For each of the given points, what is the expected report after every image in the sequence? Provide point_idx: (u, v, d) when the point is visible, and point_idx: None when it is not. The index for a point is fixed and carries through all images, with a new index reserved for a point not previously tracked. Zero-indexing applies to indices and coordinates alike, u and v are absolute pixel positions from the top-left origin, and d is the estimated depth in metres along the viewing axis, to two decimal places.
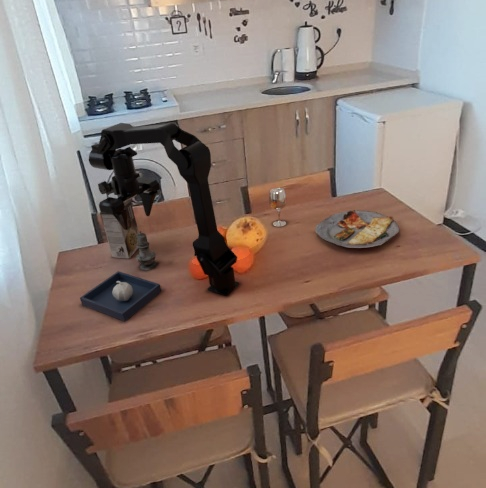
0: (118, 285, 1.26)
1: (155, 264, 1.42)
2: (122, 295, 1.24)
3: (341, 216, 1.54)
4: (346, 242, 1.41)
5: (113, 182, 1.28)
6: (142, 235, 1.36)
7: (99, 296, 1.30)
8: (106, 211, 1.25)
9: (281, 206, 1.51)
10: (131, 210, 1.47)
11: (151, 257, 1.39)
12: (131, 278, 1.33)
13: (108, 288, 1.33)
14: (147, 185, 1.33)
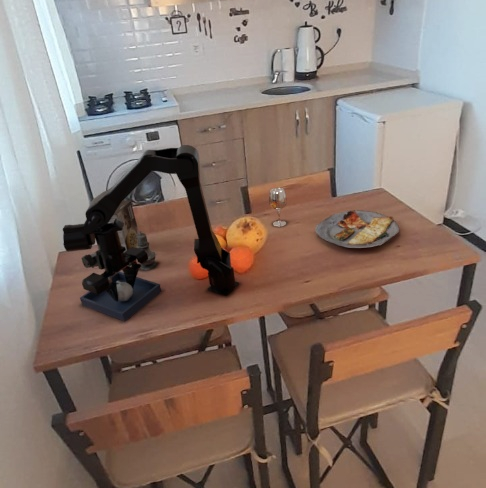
0: (118, 285, 1.26)
1: (155, 264, 1.42)
2: (122, 295, 1.24)
3: (341, 216, 1.54)
4: (346, 242, 1.41)
5: (97, 257, 1.21)
6: (142, 235, 1.36)
7: (99, 296, 1.30)
8: (89, 289, 1.17)
9: (281, 206, 1.51)
10: (131, 210, 1.47)
11: (151, 257, 1.39)
12: None
13: None
14: (134, 256, 1.26)
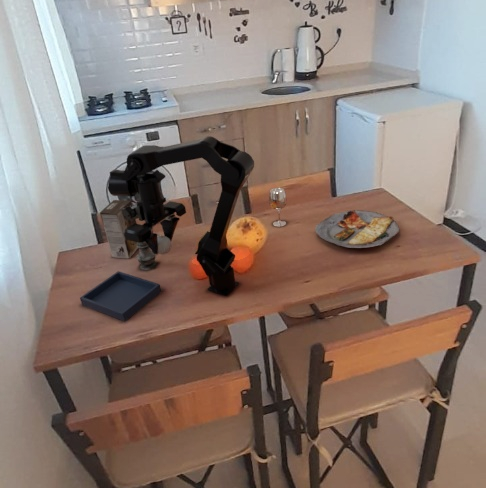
0: None
1: (155, 264, 1.42)
2: (162, 247, 1.25)
3: (341, 216, 1.54)
4: (346, 242, 1.41)
5: (138, 208, 1.21)
6: None
7: (99, 296, 1.30)
8: (132, 239, 1.18)
9: (281, 206, 1.51)
10: None
11: (151, 257, 1.39)
12: (131, 278, 1.33)
13: (108, 288, 1.33)
14: (173, 209, 1.26)
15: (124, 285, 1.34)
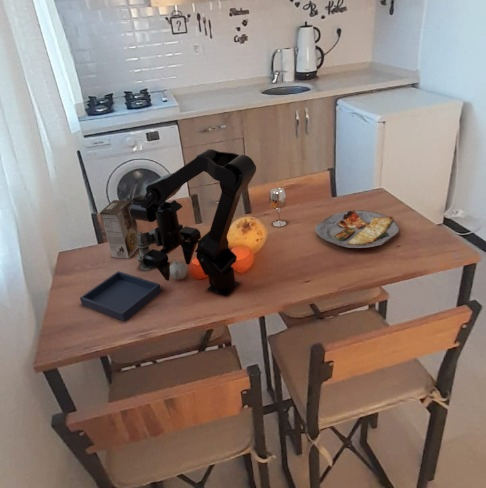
0: (174, 264, 1.33)
1: None
2: (179, 273, 1.31)
3: (341, 216, 1.54)
4: (346, 242, 1.41)
5: (156, 234, 1.27)
6: None
7: (99, 296, 1.30)
8: (150, 264, 1.24)
9: (281, 206, 1.51)
10: None
11: None
12: (131, 278, 1.33)
13: (108, 288, 1.33)
14: (189, 235, 1.32)
15: (124, 285, 1.34)
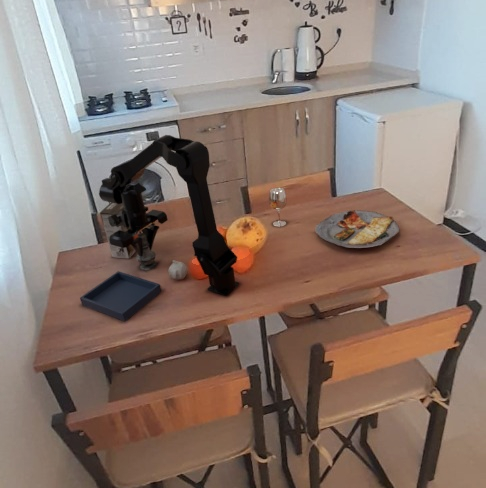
0: (174, 264, 1.33)
1: (155, 264, 1.42)
2: (179, 273, 1.31)
3: (341, 216, 1.54)
4: (346, 242, 1.41)
5: (122, 216, 1.33)
6: (142, 235, 1.36)
7: (99, 296, 1.30)
8: (116, 244, 1.30)
9: (281, 206, 1.51)
10: None
11: (151, 257, 1.39)
12: (131, 278, 1.33)
13: (108, 288, 1.33)
14: (155, 217, 1.38)
15: (124, 285, 1.34)
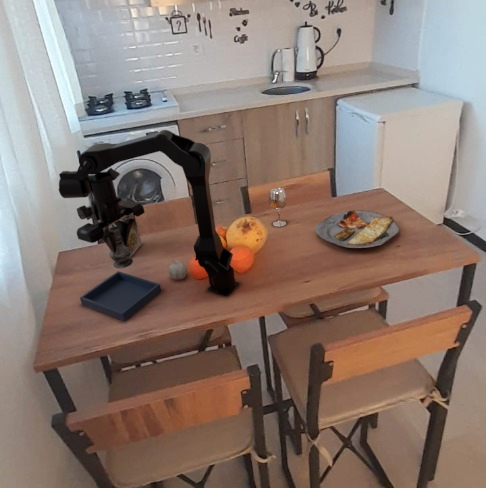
0: (174, 264, 1.33)
1: (131, 261, 1.28)
2: (179, 273, 1.31)
3: (341, 216, 1.54)
4: (346, 242, 1.41)
5: (92, 207, 1.19)
6: (115, 229, 1.22)
7: (99, 296, 1.30)
8: (84, 239, 1.16)
9: (281, 206, 1.51)
10: None
11: (125, 253, 1.25)
12: (131, 278, 1.33)
13: (108, 288, 1.33)
14: (130, 209, 1.24)
15: (124, 285, 1.34)
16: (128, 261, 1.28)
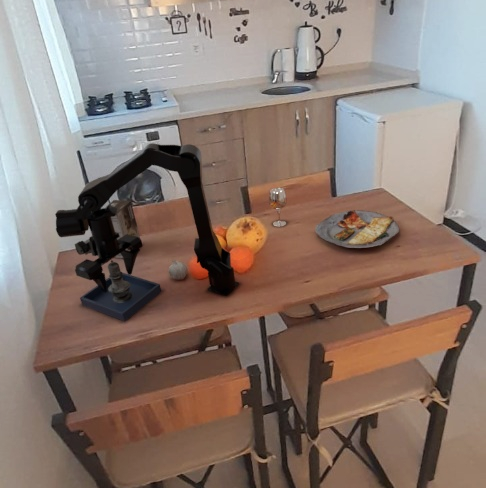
0: (174, 264, 1.33)
1: (130, 296, 1.28)
2: (179, 273, 1.31)
3: (341, 216, 1.54)
4: (346, 242, 1.41)
5: (91, 243, 1.19)
6: (114, 265, 1.23)
7: (99, 296, 1.30)
8: (82, 276, 1.16)
9: (281, 206, 1.51)
10: (131, 210, 1.47)
11: (125, 289, 1.25)
12: (131, 278, 1.33)
13: None
14: (128, 243, 1.24)
15: None
16: (127, 295, 1.28)
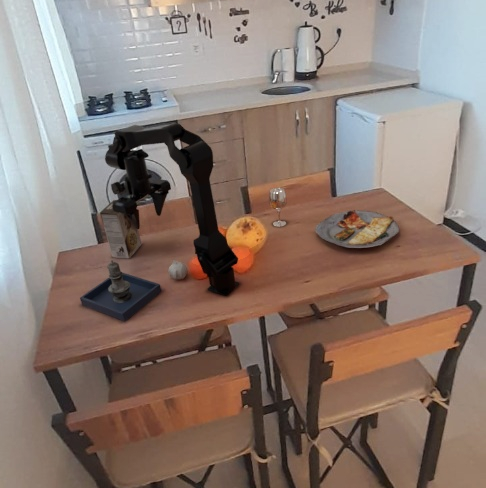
0: (174, 264, 1.33)
1: (130, 296, 1.28)
2: (179, 273, 1.31)
3: (341, 216, 1.54)
4: (346, 242, 1.41)
5: (126, 183, 1.32)
6: (114, 265, 1.23)
7: (99, 296, 1.30)
8: (119, 211, 1.28)
9: (281, 206, 1.51)
10: None
11: (125, 289, 1.25)
12: (131, 278, 1.33)
13: None
14: (158, 185, 1.37)
15: None
16: (127, 295, 1.28)
